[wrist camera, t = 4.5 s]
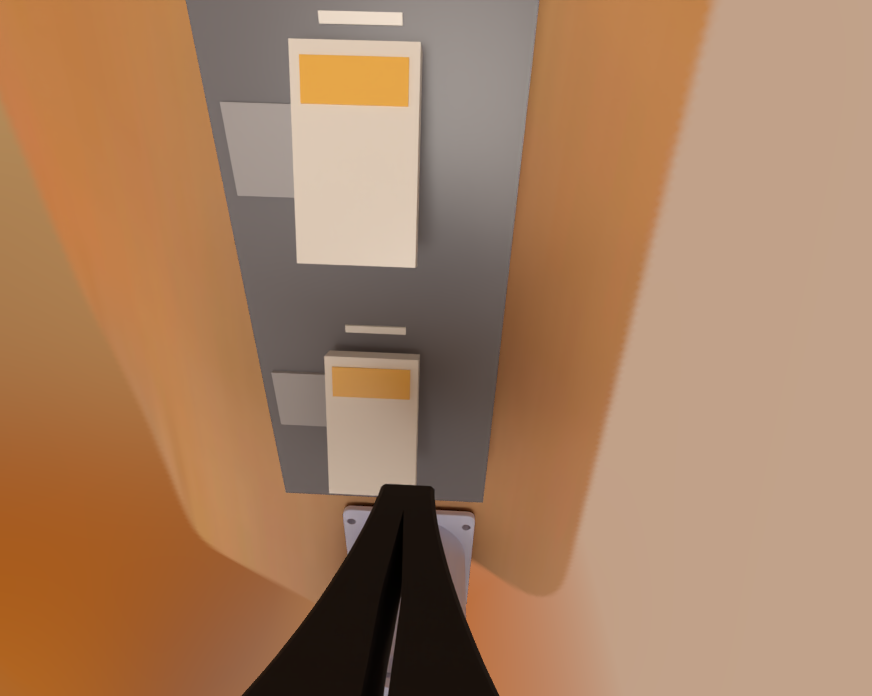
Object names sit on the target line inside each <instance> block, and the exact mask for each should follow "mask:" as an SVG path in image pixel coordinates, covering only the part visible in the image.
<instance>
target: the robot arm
mask: <svg viewBox="0 0 872 696" xmlns="http://www.w3.org/2000/svg"><path fill="white" fill-rule="evenodd" d="M343 521H344V529H345V538H346V546H347V557H346V558H345V560H344V562H343V563H342V565H341V566H340V568H339V570H338V571H337V573H336V574H335V576H334V577H333V579H332V581H331V582H330V584H329V585H328V587H327V588H326V590H325V591H324V593H323V594H322V596H321V597H320V599H319V600H318V602H317V603H316V604H315V606H314V607H313V609H312V610H311V611H310V613H309V614H308V615H307V617H306V618H305V620H304V621H303V622H302V624H301V625H300V626H299V628H298V629H297V630H296V631H295V633H294V634H293V635H292V637H291V638H290V639H289V640H288V642H287V643H286V644H285V645H284V647H283V648H282V649H281V650H280V652H279V653H278V654H277V656H276V657H275V658H274V659H273V660H272V662H271V663H270V664H269V665H268V666H267V667H266V669H265V670H264V671H263V672H262V673H261V674H260V676H259V677H258V678H257V679H256V680H255V681H254V682H253V683H252V685H251V686H250V687H249V688H248V689H247V690H246V691H245V692H244V694H243V695H242V696H499V694H498V692H497V690H496V688H495V686H494V684H493V681H492V679H491V677H490V675H489V673H488V671H487V669H486V667H485V665H484V662H483V660H482V658H481V655H480V653H479V651H478V648H477V646H476V643H475V641H474V639H473V636H472V633H471V631H470V628H469V626H468V623H467V621H466V604H467V594H468V585H469V575H470V565H471V556H472V546H473V536H474V526H475V516H474V514H473V513H471V512H467V511H448V510H436V508H435V489H434V488H433V487H431V486H421V485H402V484H384V485H383V486H381V488H380V491H379V494H378V496H377V499H376V501H375V503H374V506H373V507H371V506H347V507H345V509H344V512H343Z"/></svg>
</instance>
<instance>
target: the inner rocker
mask: <svg viewBox="0 0 872 696" xmlns="http://www.w3.org/2000/svg"><path fill="white" fill-rule="evenodd" d="M324 365H325V393H326V421H327V448H328V476H329V493H333V494H352V495H372V496H378V494H379V491H380V488H381V486H383V485H384V484H402V485H417V447H418V408H419V370H420V354H403V353H380V352H357V351H334V350H330V351H329V352H328V353H327V354H326V355H325V356H324Z"/></svg>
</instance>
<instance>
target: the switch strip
mask: <svg viewBox="0 0 872 696" xmlns="http://www.w3.org/2000/svg"><path fill="white" fill-rule="evenodd" d="M186 4H187V9H188V14H189V19H190V24H191V29H192V34H193V39H194V44H195V48H196V53H197V58H198V63H199V68H200V73H201V78H202V83H203V88H204V93H205V98H206V102H207V107H208V112H209V117H210V122H211V127H212V132H213V137H214V142H215V147H216V152H217V156H218V161H219V166H220V171H221V176H222V181H223V186H224V191H225V196H226V201H227V206H228V210H229V215H230V220H231V225H232V230H233V235H234V240H235V245H236V250H237V255H238V260H239V264H240V269H241V274H242V279H243V284H244V289H245V294H246V299H247V304H248V309H249V314H250V318H251V323H252V328H253V333H254V338H255V343H256V348H257V353H258V358H259V363H260V368H261V372H262V377H263V382H264V387H265V392H266V397H267V402H268V407H269V412H270V417H271V422H272V426H273V431H274V436H275V441H276V446H277V451H278V456H279V461H280V466H281V471H282V476H283V480H284V485H285V490H286V492H287V493H306V494H326V495H345V496H365V497H377V496H372V495H352V494H333V493H329V476H328V448H327V421H326V393H325V365H324V356H325V355H326V354H327V353H328V352H329V351H330V350H334V351H357V352H380V353H403V354H420V370H419V408H418V447H417V485H421V486H431V487H433V488H434V489H435V500H443V501H463V502H483V496H484V487H485V479H486V470H487V461H488V452H489V443H490V434H491V425H492V416H493V407H494V398H495V390H496V381H497V372H498V363H499V354H500V345H501V336H502V327H503V318H504V309H505V301H506V292H507V283H508V274H509V265H510V256H511V247H512V238H513V229H514V221H515V212H516V203H517V194H518V185H519V176H520V167H521V158H522V149H523V140H524V132H525V123H526V114H527V105H528V96H529V87H530V78H531V69H532V60H533V51H534V43H535V34H536V25H537V16H538V7H539V0H186ZM288 38H295V39H333V40H370V41H408V42H421V47H422V53H423V59H422V99H421V138H420V177H419V217H418V256H417V267H416V268H406V267H381V266H355V265H329V264H303V263H297V253H296V227H295V201H294V176H293V150H292V124H291V98H290V72H289V46H288Z"/></svg>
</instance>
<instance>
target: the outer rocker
mask: <svg viewBox="0 0 872 696" xmlns="http://www.w3.org/2000/svg"><path fill="white" fill-rule="evenodd" d="M288 46H289V72H290V98H291V124H292V150H293V176H294V201H295V227H296V253H297V263H303V264H329V265H355V266H381V267H406V268H416V267H417V256H418V217H419V177H420V138H421V99H422V59H423V53H422V47H421V42H408V41H370V40H333V39H295V38H288Z"/></svg>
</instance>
